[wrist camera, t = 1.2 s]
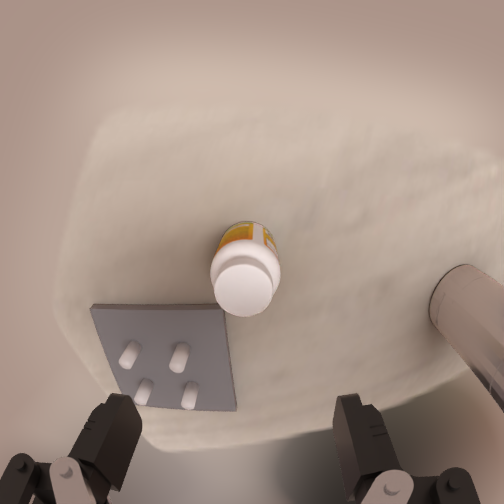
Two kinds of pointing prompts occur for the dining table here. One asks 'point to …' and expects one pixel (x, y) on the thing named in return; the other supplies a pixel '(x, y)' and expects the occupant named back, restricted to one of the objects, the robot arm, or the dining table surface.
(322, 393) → the dining table surface
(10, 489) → the robot arm
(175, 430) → the dining table surface
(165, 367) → the pin holder
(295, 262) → the dining table surface
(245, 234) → the supplement bottle
